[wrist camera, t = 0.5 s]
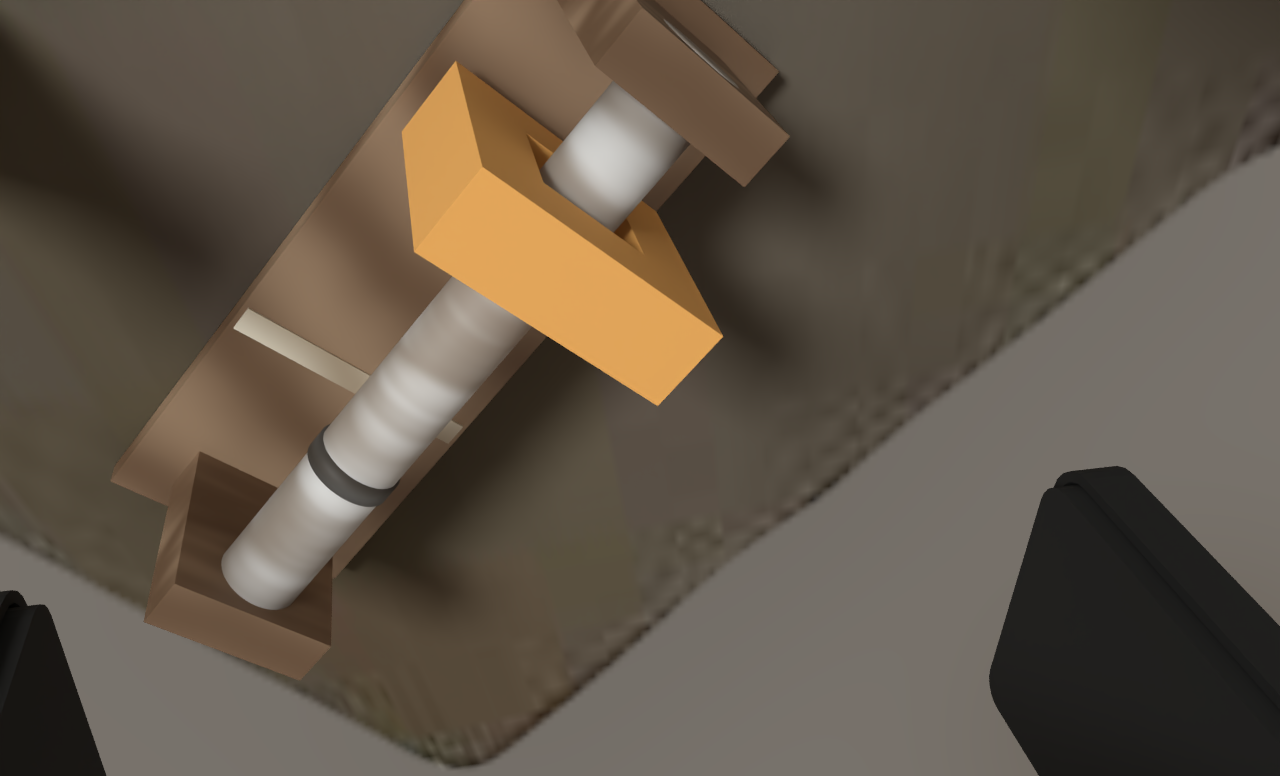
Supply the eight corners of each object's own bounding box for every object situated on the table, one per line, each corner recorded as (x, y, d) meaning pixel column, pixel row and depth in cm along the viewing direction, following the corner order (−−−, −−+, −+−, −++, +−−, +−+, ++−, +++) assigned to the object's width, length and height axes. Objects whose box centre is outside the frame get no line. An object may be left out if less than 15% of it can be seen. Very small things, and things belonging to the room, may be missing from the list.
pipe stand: (560, -129, 35) (611, -74, 29) (770, 63, 40) (856, 149, 34) (114, 465, 44) (70, 619, 37) (334, 563, 49) (331, 714, 42)
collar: (455, 60, 36) (482, 166, 29) (656, 211, 40) (723, 336, 33) (401, 131, 37) (413, 251, 30) (603, 271, 41) (657, 405, 34)
